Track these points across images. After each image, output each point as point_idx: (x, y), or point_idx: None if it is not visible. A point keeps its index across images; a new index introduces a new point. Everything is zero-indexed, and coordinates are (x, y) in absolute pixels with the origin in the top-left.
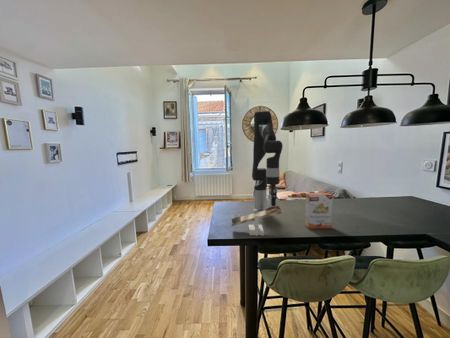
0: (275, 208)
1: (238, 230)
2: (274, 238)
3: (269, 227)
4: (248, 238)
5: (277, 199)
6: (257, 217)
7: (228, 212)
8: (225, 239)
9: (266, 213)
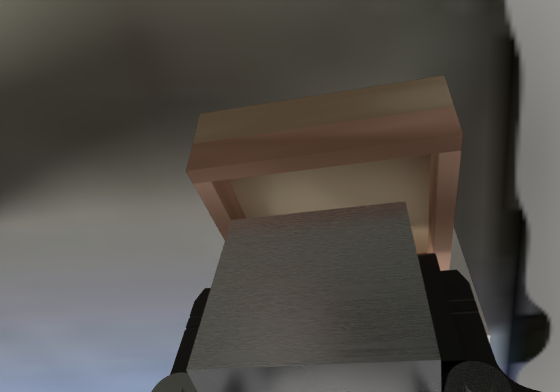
0: (258, 182)
1: None
2: (517, 66)
3: None
4: (504, 253)
5: (430, 320)
6: (484, 322)
7: (43, 379)
8: (512, 358)
9: None
